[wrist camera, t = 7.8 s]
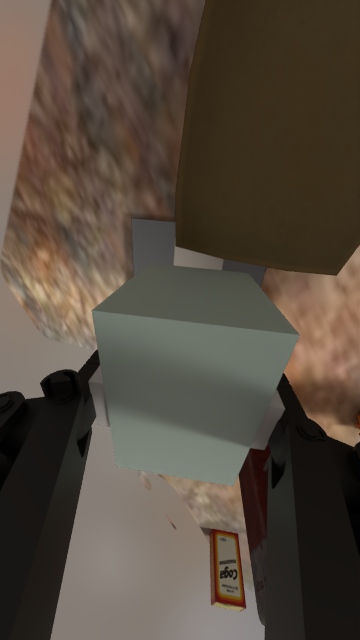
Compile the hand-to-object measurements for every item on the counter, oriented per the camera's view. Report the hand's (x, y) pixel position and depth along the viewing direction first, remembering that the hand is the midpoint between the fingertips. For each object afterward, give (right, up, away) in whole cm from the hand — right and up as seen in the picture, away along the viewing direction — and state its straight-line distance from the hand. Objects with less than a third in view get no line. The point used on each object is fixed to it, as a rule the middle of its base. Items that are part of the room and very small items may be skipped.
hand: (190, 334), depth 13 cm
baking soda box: (+16, -82, +60) cm, 103 cm away
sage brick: (0, 0, 0) cm, 0 cm away
